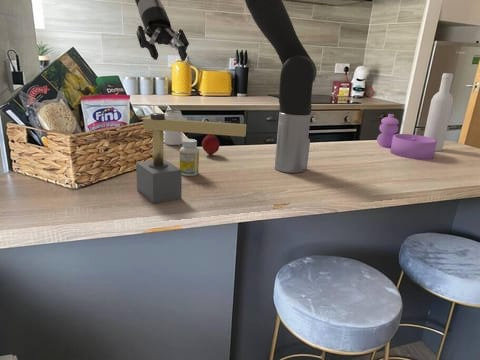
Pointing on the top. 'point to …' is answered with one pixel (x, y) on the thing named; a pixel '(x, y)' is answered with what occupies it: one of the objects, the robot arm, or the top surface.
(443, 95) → the bottle
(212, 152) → the red apple
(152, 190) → the block
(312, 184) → the top surface
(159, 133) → the tan latch lever
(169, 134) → the can
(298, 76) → the robot arm
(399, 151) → the container set
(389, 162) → the top surface
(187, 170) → the supplement bottle
